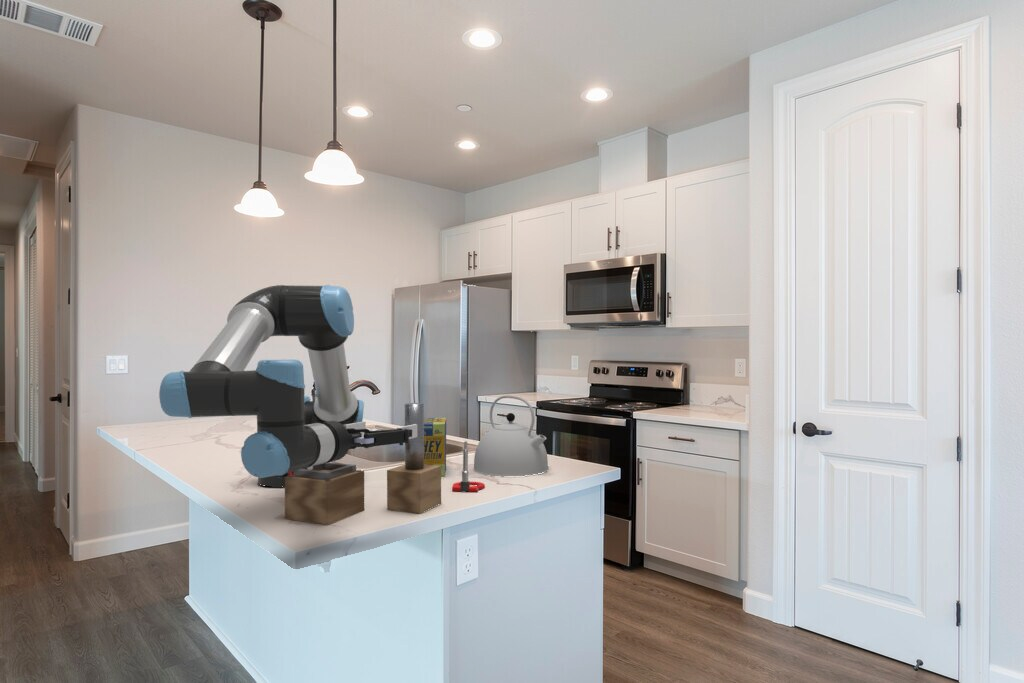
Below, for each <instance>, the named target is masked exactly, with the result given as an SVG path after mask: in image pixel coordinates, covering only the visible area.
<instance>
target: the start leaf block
mask: <svg viewBox="0 0 1024 683" xmlns="http://www.w3.org/2000/svg"><path fill="white" fill-rule="evenodd" d="M438 504H440V505H441V504H442V478H441V466H436V465H425V464H424V468H423V469H420V470H406V469H405V464H401V465H399V466H396V467H393V468H390V469H386V510H388V511H396V512H402V511H404V512H403V513H410V512H413V513H412V514H418V513H421V514H423V513H425V512H427V511H429V510H428V509H430V508H432V507H434V506H436V505H438ZM438 506H439V505H438ZM436 507H437V506H436ZM434 508H435V507H434ZM432 509H433V508H432ZM426 510H427V511H426ZM430 510H431V509H430ZM424 511H425V512H424ZM422 512H423V513H422Z"/></svg>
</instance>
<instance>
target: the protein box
mask: <svg viewBox="0 0 1024 683" xmlns="http://www.w3.org/2000/svg"><path fill="white" fill-rule="evenodd" d="M424 464H425V465H436V466H441V477H445V478H446V471H447V418H446V417H424Z"/></svg>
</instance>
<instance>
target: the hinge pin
mask: <svg viewBox="0 0 1024 683" xmlns="http://www.w3.org/2000/svg"><path fill="white" fill-rule="evenodd" d="M424 418H425V406H424V403H422V402H409V403H404V426H408V425H413V424H417V437H416V438H412V439H409V442H408V443H404V465H405V469H406V470H420V469H423V468H424Z"/></svg>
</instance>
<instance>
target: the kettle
mask: <svg viewBox="0 0 1024 683" xmlns="http://www.w3.org/2000/svg"><path fill="white" fill-rule="evenodd" d="M502 399H515V400H519V401H521V402H523V403H524V404H526V405H527V407H528V408H529V410H530V413H531V414H530V415H531V423H530V427H528V426H526V425H524V424H522V423H521V424H520V423H514V422H513V421H515V418H516V415H515V414H514V413H512V412H510V413H508V414H507V415H506V416H505V417H506V420H507V421H508V422H506V423H502V424H497V425H495V422H494V420H493V411H494V410H493V409H494V407H495V405H496V403H498V401H500V400H502ZM489 421H490V424H491V427H492V428H491V429H490V430H488V431H487V432H486V433H485V434H483V436H482V437H481V439H480V441H479V442H478V444H477V447H476V448H475V452H474V456H473V457H474V459H473V472H475V473H476V472H477V474H479V475H482V474H483V475H482V476H487V475H490V476H489V477H495V476H525V475H533V474H538V473H542V472H545V471H546V472H548V471H547V470H549V465H548V464H549V462H548V453H547V450H546V447H545V444H544V442H545V441H546V440H547V437H546V436H545V435H544V434H537V433H536V432H535V431H534V430H533V428H534V425H535V411H534V408H533V407H532V405H531V404H530V402H528V400H526V399H524V398H522V397H521V396H518V395H509V394H507V395H501V396H499V397H497V398H496V399H495V400H493V402H492V404H491V406H490V410H489ZM546 472H545V473H546ZM542 474H543V473H542ZM538 475H539V474H538ZM533 476H534V475H533ZM525 477H526V476H525Z"/></svg>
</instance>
